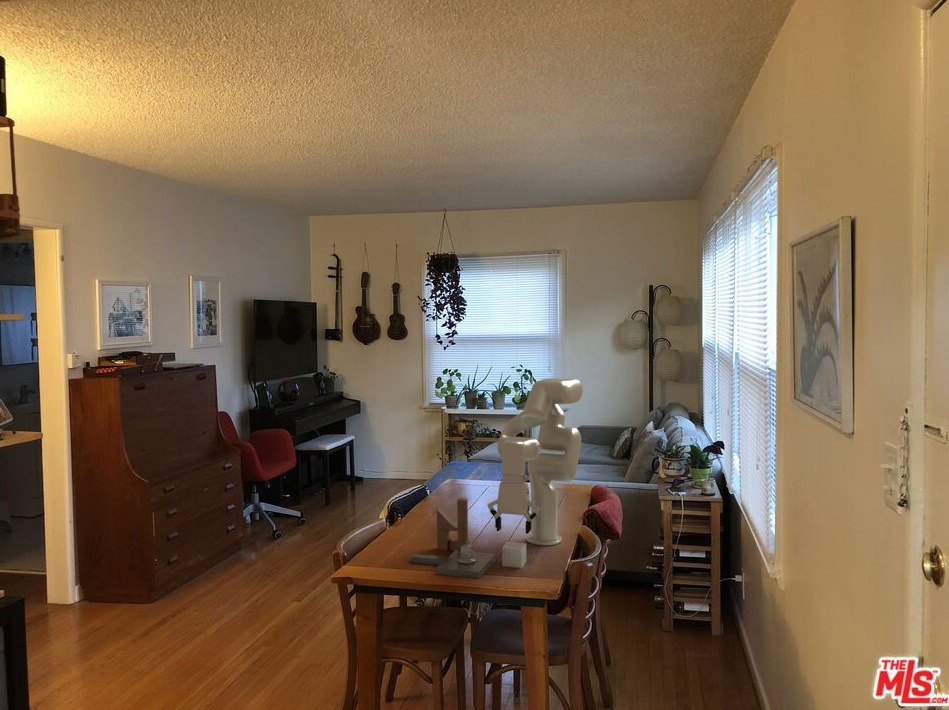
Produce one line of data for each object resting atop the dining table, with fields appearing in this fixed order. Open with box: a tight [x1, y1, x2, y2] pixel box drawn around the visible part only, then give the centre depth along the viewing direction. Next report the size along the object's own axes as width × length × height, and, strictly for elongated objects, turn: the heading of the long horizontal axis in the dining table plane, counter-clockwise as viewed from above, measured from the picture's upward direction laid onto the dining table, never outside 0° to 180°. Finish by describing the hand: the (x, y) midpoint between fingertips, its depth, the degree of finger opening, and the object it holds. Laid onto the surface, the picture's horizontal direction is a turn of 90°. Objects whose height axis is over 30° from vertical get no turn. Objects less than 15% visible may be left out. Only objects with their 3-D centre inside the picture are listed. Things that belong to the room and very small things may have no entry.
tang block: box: [410, 544, 497, 580], centre depth 223 cm, size 18×26×7 cm
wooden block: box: [436, 497, 470, 552], centre depth 238 cm, size 4×11×18 cm, turn 76°
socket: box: [501, 541, 527, 569], centre depth 223 cm, size 6×6×6 cm
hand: (513, 531), depth 222 cm, fingers open, 9 cm apart
